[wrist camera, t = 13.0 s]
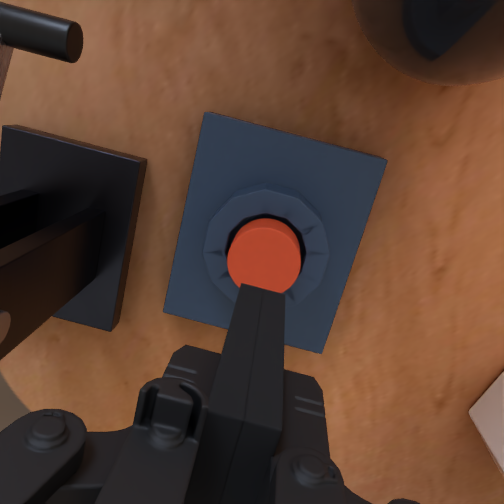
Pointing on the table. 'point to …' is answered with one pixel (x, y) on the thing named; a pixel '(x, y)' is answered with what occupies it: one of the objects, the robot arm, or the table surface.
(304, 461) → the robot arm
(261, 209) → the button block
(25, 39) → the tap lever
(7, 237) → the lever stand
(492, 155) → the table surface
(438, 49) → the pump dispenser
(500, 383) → the jar
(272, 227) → the button
